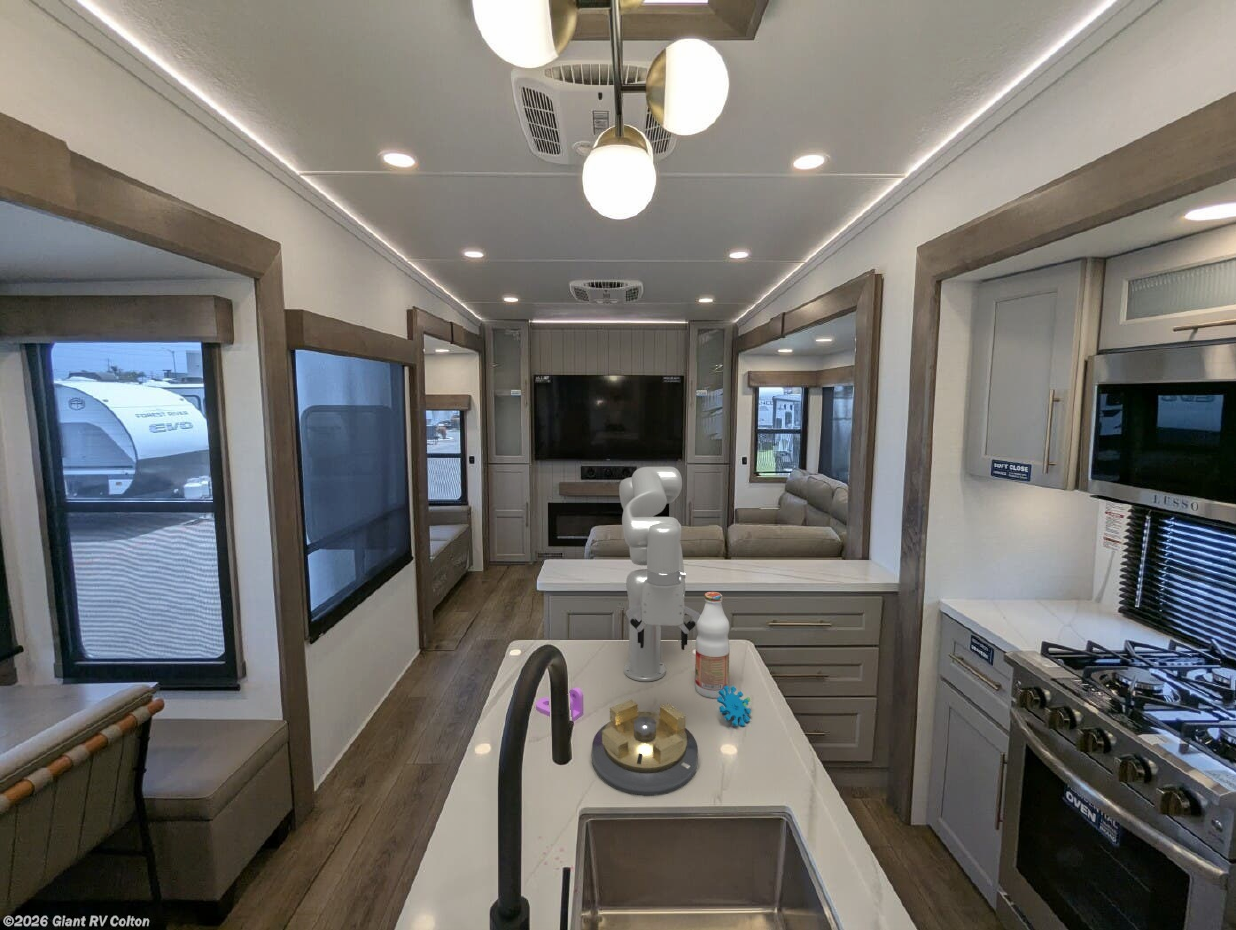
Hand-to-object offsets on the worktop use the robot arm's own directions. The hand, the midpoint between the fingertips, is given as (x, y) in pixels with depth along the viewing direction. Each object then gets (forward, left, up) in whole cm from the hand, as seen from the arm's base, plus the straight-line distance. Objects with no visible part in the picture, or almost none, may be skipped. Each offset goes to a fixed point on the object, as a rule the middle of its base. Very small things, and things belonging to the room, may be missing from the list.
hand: (662, 646), depth 124 cm
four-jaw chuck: (+8, -3, -20) cm, 22 cm away
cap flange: (+8, -3, -23) cm, 25 cm away
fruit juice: (-24, +12, -23) cm, 36 cm away
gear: (-11, +18, -23) cm, 32 cm away
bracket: (-6, -28, -24) cm, 37 cm away
